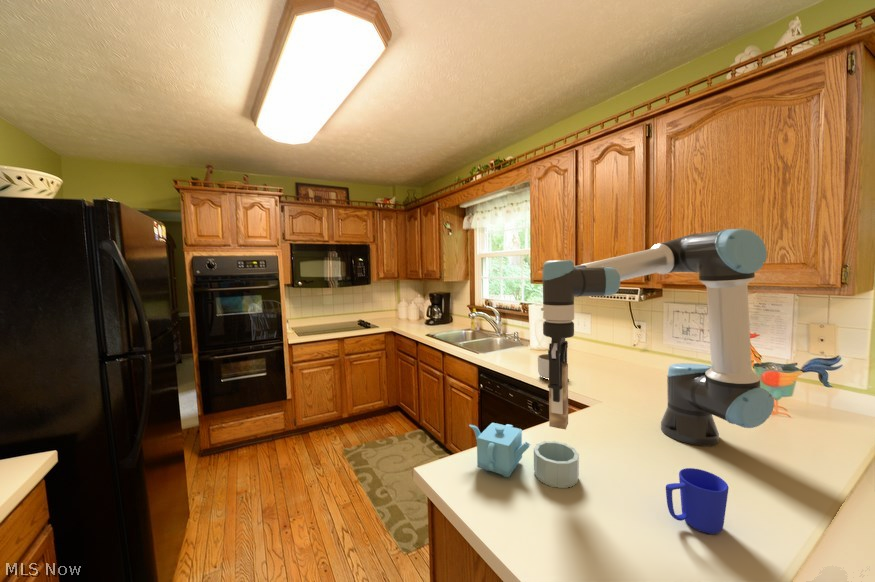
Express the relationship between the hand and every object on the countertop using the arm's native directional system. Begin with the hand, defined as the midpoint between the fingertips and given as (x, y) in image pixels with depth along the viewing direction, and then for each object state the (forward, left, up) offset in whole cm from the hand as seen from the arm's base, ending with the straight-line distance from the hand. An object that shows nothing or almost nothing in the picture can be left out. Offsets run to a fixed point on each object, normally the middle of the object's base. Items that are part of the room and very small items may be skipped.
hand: (558, 409), depth 87 cm
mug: (-28, +3, -19) cm, 34 cm away
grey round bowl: (+1, -1, -19) cm, 19 cm away
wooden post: (0, 0, -4) cm, 4 cm away
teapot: (+16, +2, -19) cm, 25 cm away
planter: (+20, -82, -19) cm, 86 cm away
